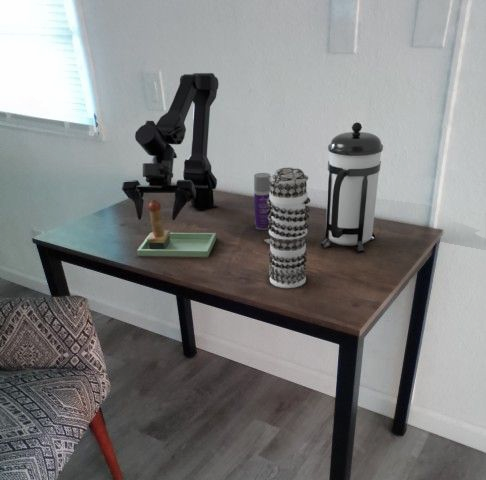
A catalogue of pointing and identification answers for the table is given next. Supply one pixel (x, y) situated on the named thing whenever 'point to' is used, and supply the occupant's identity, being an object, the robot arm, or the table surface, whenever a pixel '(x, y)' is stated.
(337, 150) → the coffee press
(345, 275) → the table surface
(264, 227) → the container
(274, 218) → the decorative candle
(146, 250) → the tray
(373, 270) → the table surface
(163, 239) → the wooden rubber stamp
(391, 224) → the table surface
